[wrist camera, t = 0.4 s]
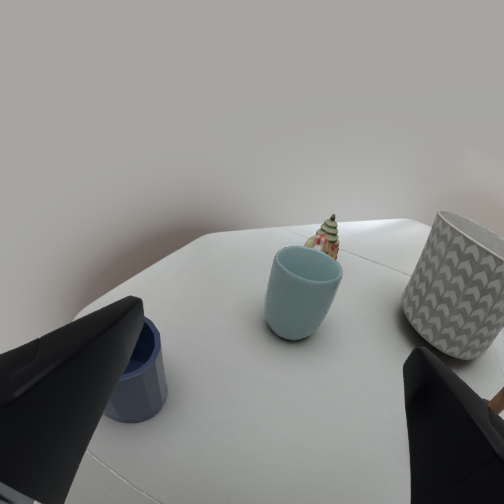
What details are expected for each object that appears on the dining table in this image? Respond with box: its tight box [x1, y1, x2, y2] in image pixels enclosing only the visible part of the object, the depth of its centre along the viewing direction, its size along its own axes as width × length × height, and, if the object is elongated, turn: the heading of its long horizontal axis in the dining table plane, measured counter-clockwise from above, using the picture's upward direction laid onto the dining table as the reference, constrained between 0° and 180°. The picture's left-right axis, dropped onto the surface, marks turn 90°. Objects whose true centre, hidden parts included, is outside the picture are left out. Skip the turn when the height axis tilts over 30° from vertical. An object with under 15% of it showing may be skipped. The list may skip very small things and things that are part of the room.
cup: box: [265, 246, 343, 340], centre depth 32 cm, size 8×8×10 cm
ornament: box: [304, 214, 339, 260], centre depth 49 cm, size 8×6×10 cm
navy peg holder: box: [103, 316, 167, 423], centre depth 20 cm, size 8×8×8 cm
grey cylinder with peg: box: [483, 387, 504, 414], centre depth 14 cm, size 4×4×11 cm
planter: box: [402, 210, 504, 360], centre depth 32 cm, size 19×19×18 cm
